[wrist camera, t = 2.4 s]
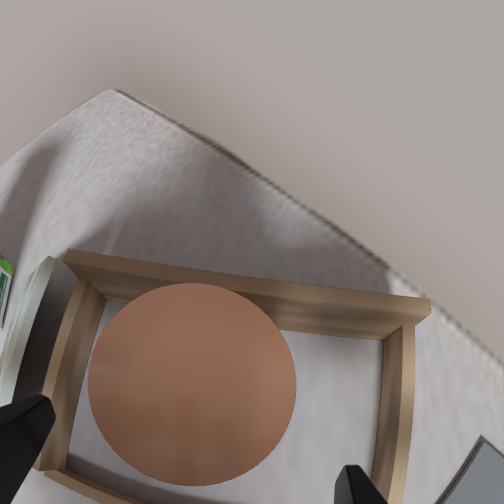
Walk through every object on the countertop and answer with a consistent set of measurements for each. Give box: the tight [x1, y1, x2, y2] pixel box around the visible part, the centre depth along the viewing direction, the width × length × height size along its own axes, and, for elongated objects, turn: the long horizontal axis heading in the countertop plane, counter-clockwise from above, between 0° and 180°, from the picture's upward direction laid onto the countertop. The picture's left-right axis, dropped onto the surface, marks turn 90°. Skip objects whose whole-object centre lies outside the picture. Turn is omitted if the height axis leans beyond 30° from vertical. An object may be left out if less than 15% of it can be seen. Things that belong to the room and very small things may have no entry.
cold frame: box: [0, 249, 431, 504], centre depth 14 cm, size 14×27×6 cm, turn 81°
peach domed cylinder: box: [88, 283, 296, 486], centre depth 12 cm, size 5×5×11 cm
